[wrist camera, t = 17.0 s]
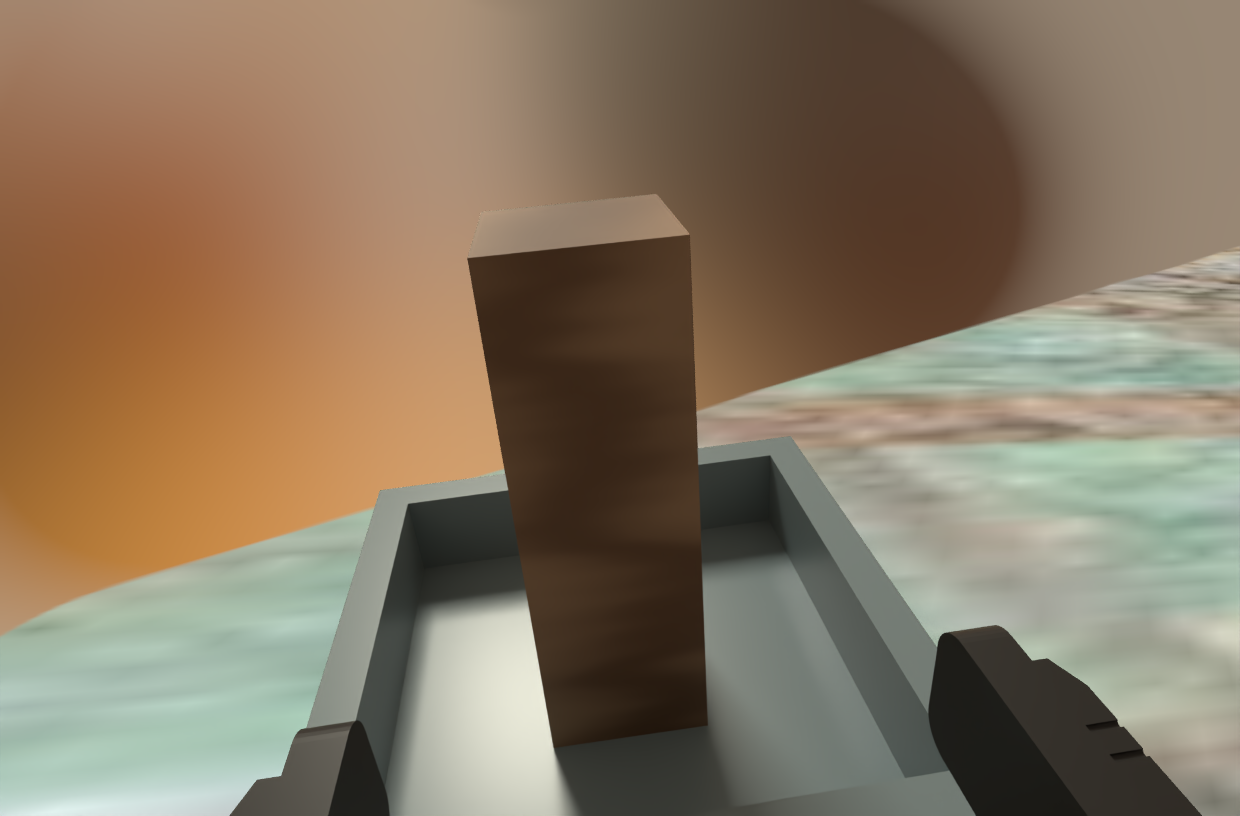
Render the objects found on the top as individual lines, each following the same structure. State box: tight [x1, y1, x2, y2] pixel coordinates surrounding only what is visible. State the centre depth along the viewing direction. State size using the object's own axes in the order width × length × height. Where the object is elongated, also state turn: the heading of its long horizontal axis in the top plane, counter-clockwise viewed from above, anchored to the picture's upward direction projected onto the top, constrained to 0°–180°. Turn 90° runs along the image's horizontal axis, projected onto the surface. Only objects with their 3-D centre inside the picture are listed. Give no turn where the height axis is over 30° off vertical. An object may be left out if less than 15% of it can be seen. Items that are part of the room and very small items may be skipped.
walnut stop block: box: [468, 194, 708, 748], centre depth 20 cm, size 4×4×14 cm
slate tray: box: [306, 436, 976, 816], centre depth 22 cm, size 16×16×4 cm
